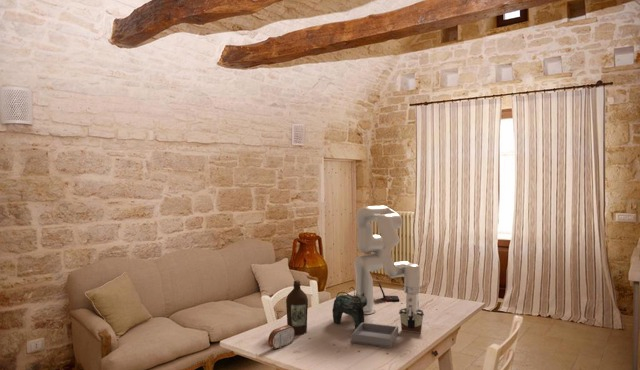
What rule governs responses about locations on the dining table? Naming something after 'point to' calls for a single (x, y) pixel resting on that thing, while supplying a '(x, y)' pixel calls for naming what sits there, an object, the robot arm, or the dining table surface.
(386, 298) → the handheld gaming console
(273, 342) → the tin
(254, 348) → the dining table surface
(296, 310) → the olive oil
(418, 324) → the food container
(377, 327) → the tray
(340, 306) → the teal animal figurine
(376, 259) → the robot arm
